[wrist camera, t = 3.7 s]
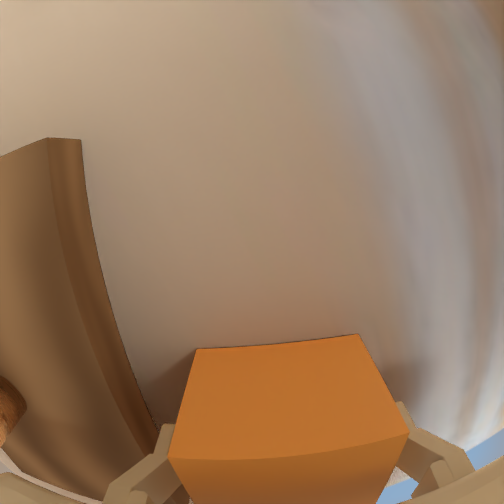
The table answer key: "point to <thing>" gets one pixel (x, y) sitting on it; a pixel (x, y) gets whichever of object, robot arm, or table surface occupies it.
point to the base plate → (63, 331)
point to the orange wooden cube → (287, 425)
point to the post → (9, 408)
